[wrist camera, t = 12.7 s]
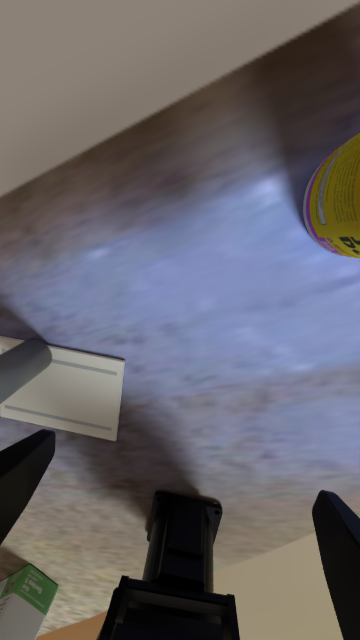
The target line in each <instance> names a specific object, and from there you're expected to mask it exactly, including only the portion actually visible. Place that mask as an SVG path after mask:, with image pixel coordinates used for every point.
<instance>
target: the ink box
mask: <svg viewBox="0 0 360 640" xmlns="http://www.w3.org/2000/svg"><path fill="white" fill-rule="evenodd" d="M57 590H58V586H57V585H56V584H55V583H53V582H52V581H51V580H50V579H48V578H47V577H46V576H44V575H43V574H42V573H41V572H39V571H38V570H37V569H35V568H34V567H33V566H32V565H30V564H29V565H27V566H26V567H24V568H23V569H21V570H19V571H18V572H16V573H14V574H13V575H11V576H10V577H8V578H6V579H5V580H3V581H1V582H0V640H36V638H37V635H38V633H39V631H40V628H41V626H42V624H43V622H44V619H45V617H46V615H47V612H48V610H49V608H50V606H51V603H52V601H53V599H54V596H55V594H56V592H57Z"/></svg>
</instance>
